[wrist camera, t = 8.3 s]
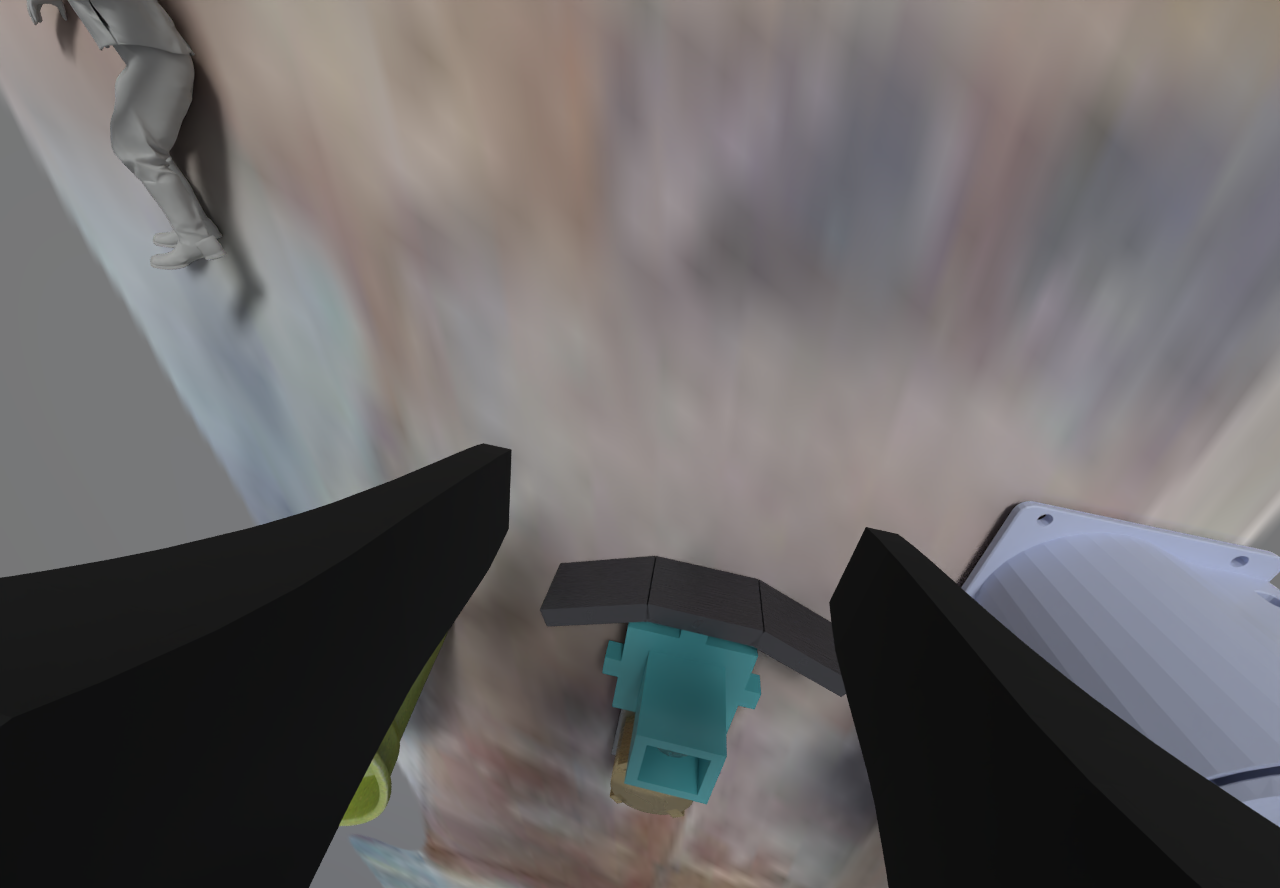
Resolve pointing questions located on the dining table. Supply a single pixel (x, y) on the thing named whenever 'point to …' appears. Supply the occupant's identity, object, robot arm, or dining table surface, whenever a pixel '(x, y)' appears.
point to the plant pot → (385, 759)
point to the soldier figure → (150, 114)
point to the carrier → (696, 607)
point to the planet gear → (679, 704)
